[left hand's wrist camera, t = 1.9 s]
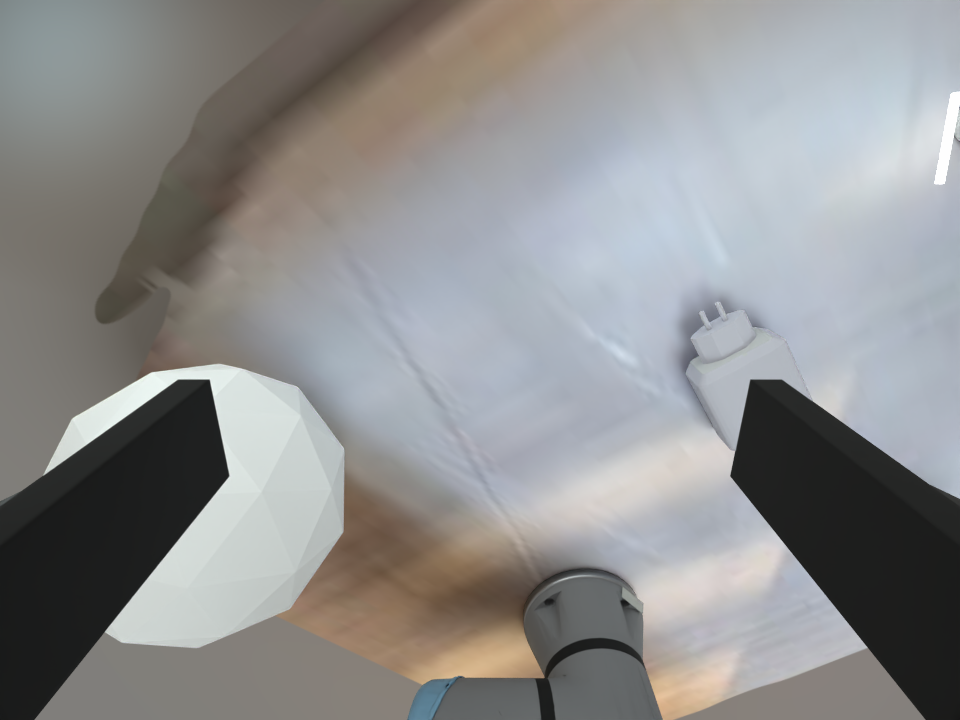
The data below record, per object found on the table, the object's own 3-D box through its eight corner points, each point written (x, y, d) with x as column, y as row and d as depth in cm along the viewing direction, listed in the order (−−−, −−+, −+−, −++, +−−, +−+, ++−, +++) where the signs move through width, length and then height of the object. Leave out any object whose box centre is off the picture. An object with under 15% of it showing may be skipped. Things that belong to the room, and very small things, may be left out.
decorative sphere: (-8, 438, 47) (-66, 746, 33) (153, 259, 42) (169, 541, 27) (225, 478, 66) (254, 686, 52) (360, 358, 60) (434, 557, 46)
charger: (741, 276, 51) (793, 391, 56) (657, 323, 53) (714, 431, 57) (766, 287, 47) (820, 411, 51) (673, 338, 48) (734, 454, 53)
